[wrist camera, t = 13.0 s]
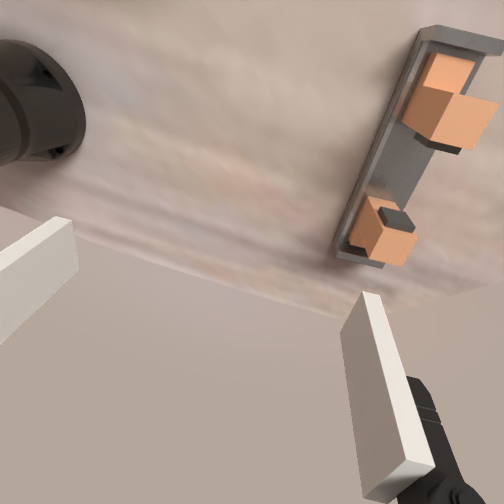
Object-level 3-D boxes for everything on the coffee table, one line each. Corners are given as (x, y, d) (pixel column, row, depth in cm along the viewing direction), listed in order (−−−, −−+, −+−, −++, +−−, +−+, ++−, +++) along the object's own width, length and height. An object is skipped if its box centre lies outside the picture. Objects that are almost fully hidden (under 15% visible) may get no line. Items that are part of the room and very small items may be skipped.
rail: (332, 240, 49) (335, 257, 45) (420, 28, 33) (437, 24, 29) (375, 250, 49) (382, 268, 44) (482, 43, 33) (508, 41, 29)
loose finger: (348, 237, 46) (358, 278, 38) (369, 190, 41) (386, 223, 33) (374, 244, 46) (390, 285, 37) (397, 197, 41) (422, 232, 33)
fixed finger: (397, 127, 37) (425, 148, 29) (430, 52, 33) (475, 51, 24) (429, 135, 37) (466, 158, 29) (466, 61, 33) (523, 63, 24)
